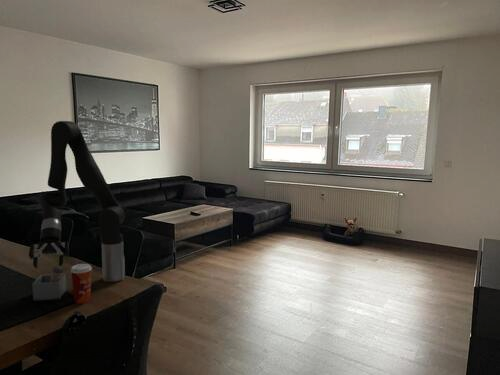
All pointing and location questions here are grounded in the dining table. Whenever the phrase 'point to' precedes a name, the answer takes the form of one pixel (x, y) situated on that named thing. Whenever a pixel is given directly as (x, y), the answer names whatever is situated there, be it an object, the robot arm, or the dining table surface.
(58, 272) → the birch peg
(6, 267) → the dining table surface
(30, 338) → the dining table surface
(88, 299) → the paper cup
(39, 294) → the grey open box
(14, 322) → the dining table surface
